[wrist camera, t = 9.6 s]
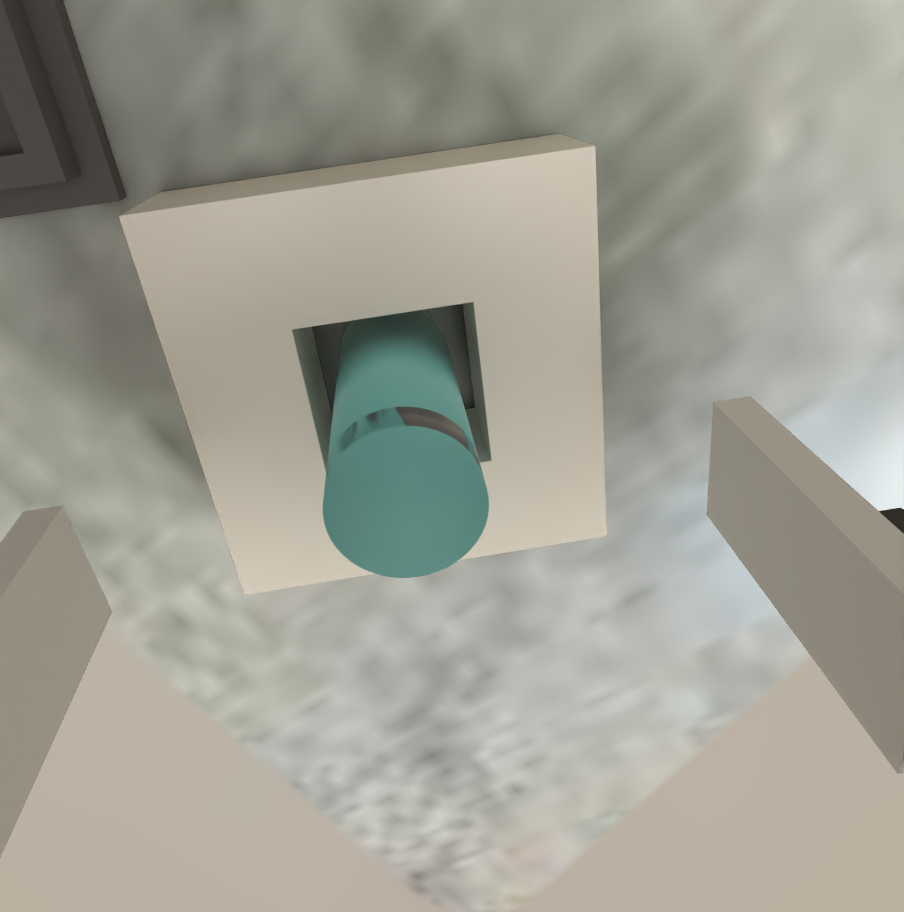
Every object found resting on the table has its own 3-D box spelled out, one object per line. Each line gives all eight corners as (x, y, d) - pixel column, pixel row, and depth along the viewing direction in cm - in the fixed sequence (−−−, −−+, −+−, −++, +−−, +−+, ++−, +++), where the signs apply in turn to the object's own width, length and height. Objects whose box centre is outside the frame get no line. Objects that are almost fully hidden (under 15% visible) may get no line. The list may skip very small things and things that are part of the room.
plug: (330, 309, 24) (305, 451, 15) (439, 292, 24) (479, 423, 15) (351, 409, 25) (340, 589, 17) (453, 393, 25) (496, 563, 17)
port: (159, 192, 22) (118, 216, 18) (559, 133, 22) (595, 146, 18) (261, 527, 27) (244, 595, 24) (576, 476, 28) (606, 536, 24)
